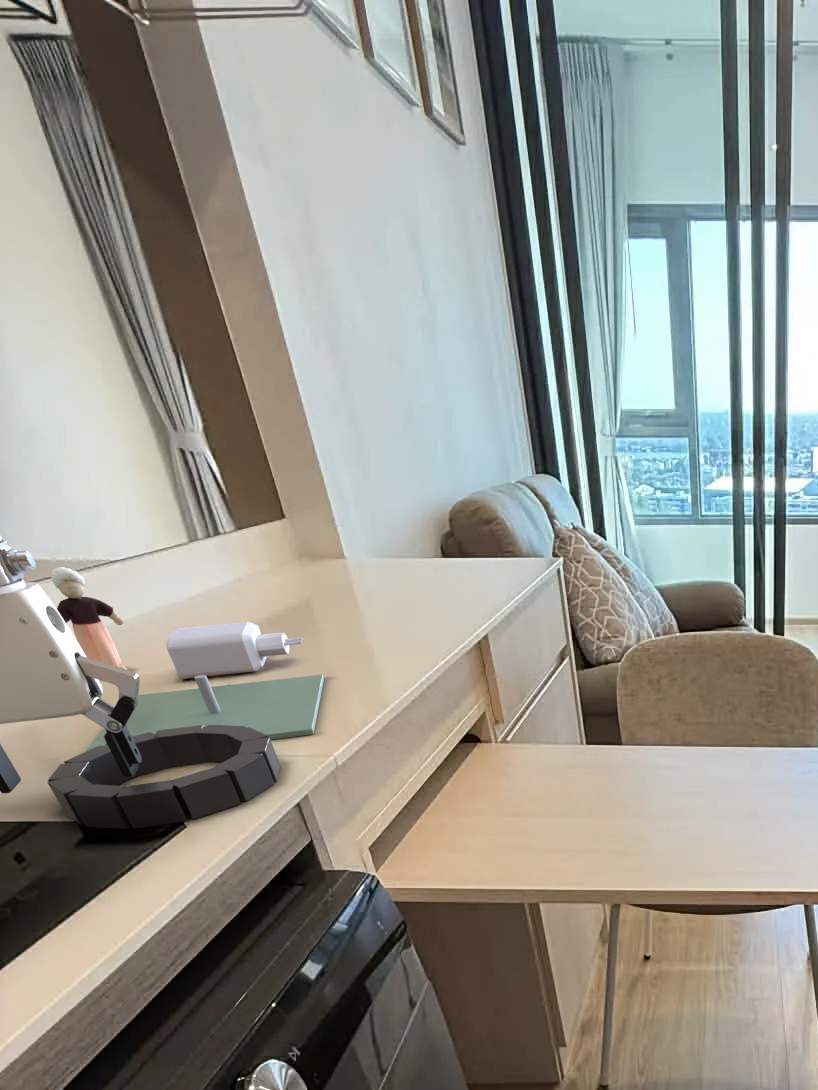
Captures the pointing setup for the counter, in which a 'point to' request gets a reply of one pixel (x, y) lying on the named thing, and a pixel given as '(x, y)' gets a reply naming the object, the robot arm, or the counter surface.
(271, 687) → the peg board
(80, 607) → the grandmother figurine
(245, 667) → the charger
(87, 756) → the segmented bracelet
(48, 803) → the counter surface
